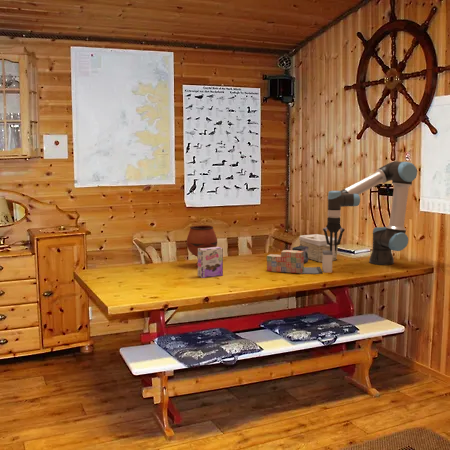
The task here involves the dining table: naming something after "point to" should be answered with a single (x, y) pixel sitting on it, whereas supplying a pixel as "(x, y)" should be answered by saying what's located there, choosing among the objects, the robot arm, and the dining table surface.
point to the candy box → (210, 262)
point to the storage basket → (316, 246)
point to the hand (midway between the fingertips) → (332, 256)
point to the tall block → (327, 261)
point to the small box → (302, 248)
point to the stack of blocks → (286, 261)
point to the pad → (312, 270)
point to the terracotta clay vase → (201, 239)
